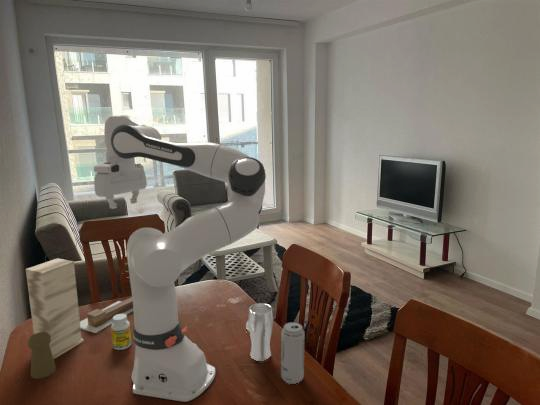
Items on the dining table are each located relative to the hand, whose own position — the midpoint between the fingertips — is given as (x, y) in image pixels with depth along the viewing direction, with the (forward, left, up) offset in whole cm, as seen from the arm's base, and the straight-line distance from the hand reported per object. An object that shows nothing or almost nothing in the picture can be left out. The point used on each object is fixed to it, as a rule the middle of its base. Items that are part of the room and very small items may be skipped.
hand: (123, 205), depth 131 cm
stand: (+4, +26, -39) cm, 47 cm away
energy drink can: (-66, +12, -39) cm, 78 cm away
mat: (+5, +6, -39) cm, 40 cm away
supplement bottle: (-13, +18, -39) cm, 45 cm away
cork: (-3, +36, -39) cm, 54 cm away
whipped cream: (-47, -6, -40) cm, 62 cm away
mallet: (+3, +4, -38) cm, 39 cm away
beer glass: (-54, +6, -39) cm, 67 cm away
